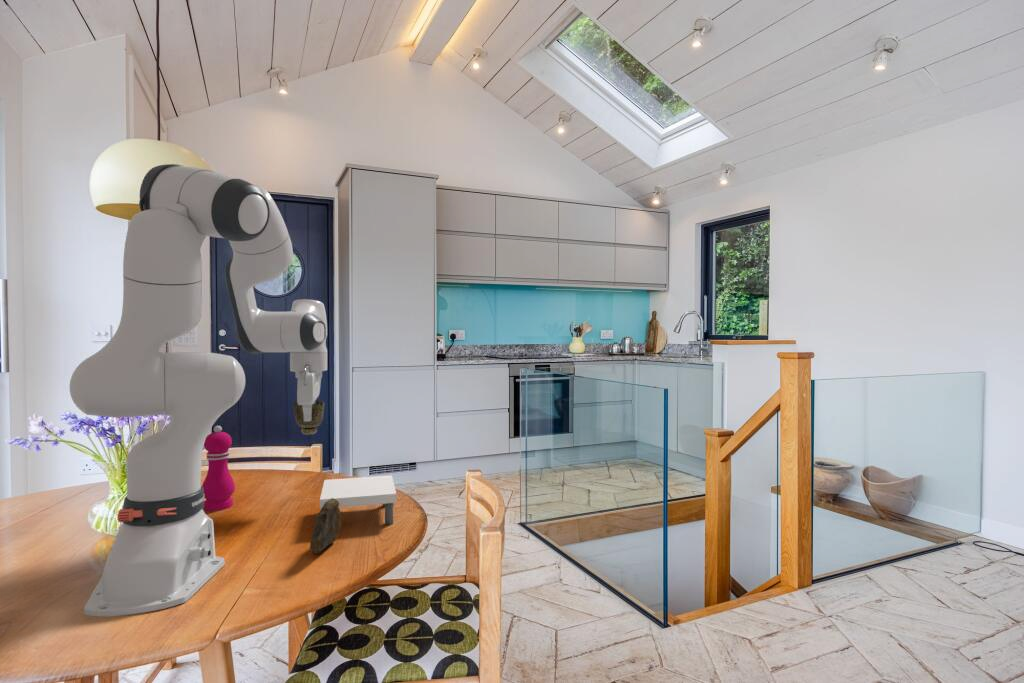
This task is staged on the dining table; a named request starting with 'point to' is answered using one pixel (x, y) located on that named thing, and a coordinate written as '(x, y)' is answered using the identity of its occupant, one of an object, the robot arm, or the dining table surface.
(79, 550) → the dining table surface
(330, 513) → the decorative stone
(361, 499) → the footstool
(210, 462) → the pepper mill
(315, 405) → the cup
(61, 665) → the dining table surface
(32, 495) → the dining table surface
